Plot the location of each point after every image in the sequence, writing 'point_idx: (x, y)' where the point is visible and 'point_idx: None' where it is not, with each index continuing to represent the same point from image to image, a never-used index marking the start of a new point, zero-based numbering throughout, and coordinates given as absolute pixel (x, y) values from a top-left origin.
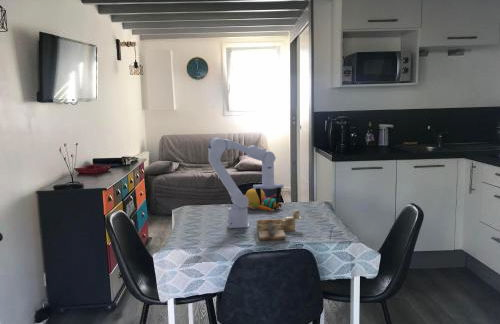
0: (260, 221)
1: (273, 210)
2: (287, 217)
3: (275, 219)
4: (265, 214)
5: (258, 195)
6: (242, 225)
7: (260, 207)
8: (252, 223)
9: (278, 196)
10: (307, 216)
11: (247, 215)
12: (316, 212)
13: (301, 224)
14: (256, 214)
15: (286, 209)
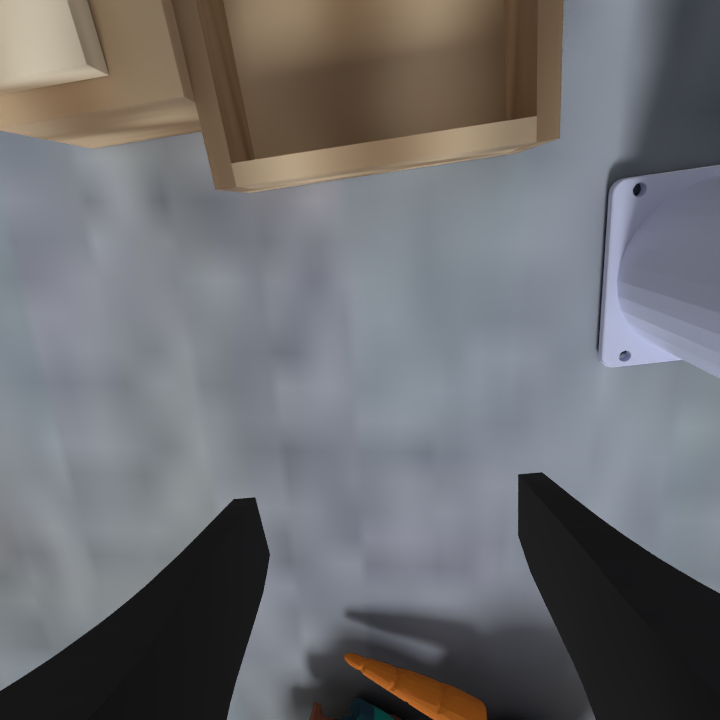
0: (496, 123)
1: (351, 657)
2: (36, 10)
3: (280, 165)
4: (420, 612)
5: (716, 602)
6: (703, 183)
7: (471, 705)
8: (553, 350)
9: (134, 602)
10: (57, 549)
11: (702, 274)
12: (14, 642)
13: (49, 307)
14: (498, 615)
15: (259, 716)
